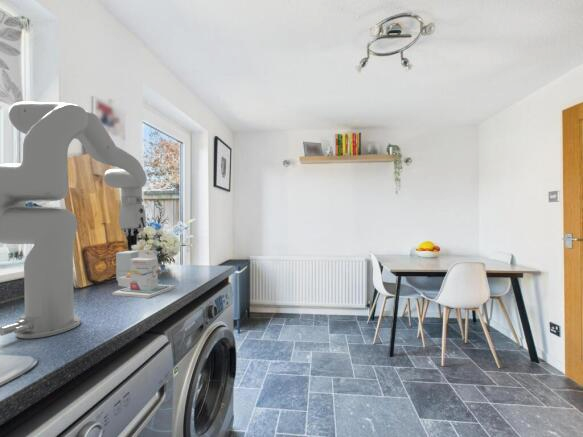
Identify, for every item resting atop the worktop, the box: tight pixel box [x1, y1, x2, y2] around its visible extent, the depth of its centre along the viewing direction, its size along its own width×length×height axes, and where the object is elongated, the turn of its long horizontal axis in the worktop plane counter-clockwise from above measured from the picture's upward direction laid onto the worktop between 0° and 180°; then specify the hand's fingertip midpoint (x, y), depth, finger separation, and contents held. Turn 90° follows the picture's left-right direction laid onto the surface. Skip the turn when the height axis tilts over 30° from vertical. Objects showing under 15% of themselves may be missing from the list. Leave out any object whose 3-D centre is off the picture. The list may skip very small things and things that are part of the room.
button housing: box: [117, 276, 130, 288], centre depth 116 cm, size 7×7×4 cm
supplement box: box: [115, 250, 139, 282], centre depth 126 cm, size 7×7×13 cm
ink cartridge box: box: [130, 249, 159, 291], centre depth 105 cm, size 9×5×15 cm, turn 82°
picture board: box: [112, 283, 176, 299], centre depth 106 cm, size 14×16×1 cm
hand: (132, 244), depth 116 cm, fingers closed
